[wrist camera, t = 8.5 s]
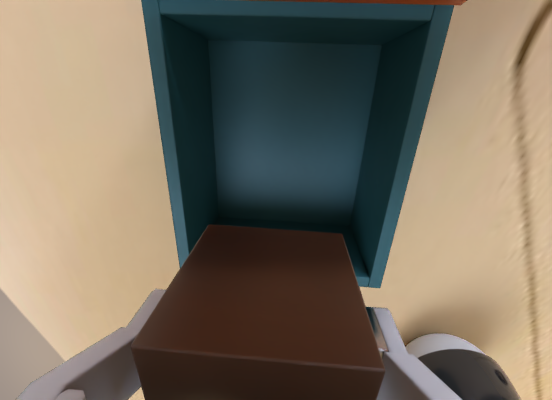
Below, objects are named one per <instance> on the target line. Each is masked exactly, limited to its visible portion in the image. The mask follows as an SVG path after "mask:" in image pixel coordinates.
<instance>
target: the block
mask: <svg viewBox="0 0 552 400" xmlns="http://www.w3.org/2000/svg"><path fill="white" fill-rule="evenodd" d="M131 351H132V355H133V358H134V362H135V366H136V369H137V373H138V376H139V380H140V383H141V387H142V390H143V394H144V398H145V400H376V399H377V396H378V393H379V390H380V387H381V384H382V381H383V378H384V375H385V371H386V370H385V367H384V364H383V361H382V357H381V354H380V351H379V348H378V345H377V342H376V339H375V335H374V332H373V329H372V326H371V323H370V320H369V316H368V313H367V310H366V307H365V304H364V301H363V298H362V294H361V291H360V288H359V285H358V282H357V279H356V275H355V272H354V269H353V266H352V263H351V260H350V257H349V253H348V250H347V247H346V244H345V241H344V238H343V235H342V234H341V233H326V232H312V231H298V230H284V229H269V228H255V227H241V226H227V225H212V224H209V225H208V226H207V228H206V229H205V231H204V232H203V234H202V235H201V237H200V239H199V240H198V242H197V243H196V245H195V246H194V248H193V249H192V251H191V253H190V254H189V256H188V257H187V259H186V260H185V262H184V263H183V265H182V267H181V268H180V270H179V271H178V273H177V274H176V276H175V277H174V279H173V281H172V282H171V284H170V285H169V287H168V288H167V290H166V291H165V293H164V294H163V296H162V298H161V299H160V301H159V302H158V304H157V305H156V307H155V308H154V310H153V312H152V313H151V315H150V316H149V318H148V319H147V321H146V322H145V324H144V326H143V327H142V329H141V330H140V332H139V333H138V335H137V336H136V338H135V340H134V341H133V343H132V344H131Z"/></svg>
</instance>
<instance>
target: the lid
mask: <svg viewBox="0 0 552 400" xmlns="http://www.w3.org/2000/svg"><path fill="white" fill-rule="evenodd" d="M247 1H291V2H336V3H380V4H425V5H462V4H463V3H464V2H466V1H467V0H247Z"/></svg>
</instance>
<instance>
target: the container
mask: <svg viewBox="0 0 552 400" xmlns="http://www.w3.org/2000/svg"><path fill="white" fill-rule="evenodd" d="M141 2H142V8H143V15H144V22H145V29H146V36H147V43H148V50H149V57H150V64H151V71H152V78H153V85H154V92H155V98H156V105H157V112H158V119H159V126H160V133H161V140H162V147H163V154H164V161H165V168H166V175H167V182H168V188H169V195H170V202H171V209H172V216H173V223H174V230H175V237H176V244H177V251H178V258H179V265H180V268H181V267H182V265H183V263H184V262H185V260H186V259H187V257H188V256H189V254H190V253H191V251H192V249H193V248H194V246H195V245H196V243H197V242H198V240H199V239H200V237H201V235H202V234H203V232H204V231H205V229H206V228H207V226H208V225H209V224H212V225H227V226H241V227H255V228H269V229H284V230H298V231H312V232H326V233H341V234H342V235H343V238H344V241H345V244H346V247H347V250H348V253H349V257H350V260H351V263H352V266H353V269H354V272H355V275H356V279H357V282H358V285H359V286H361V287H371V288H380V287H381V283H382V279H383V275H384V271H385V268H386V264H387V260H388V256H389V252H390V248H391V245H392V241H393V237H394V233H395V229H396V226H397V222H398V218H399V214H400V210H401V207H402V203H403V199H404V195H405V191H406V187H407V184H408V180H409V176H410V172H411V168H412V165H413V161H414V157H415V153H416V149H417V145H418V142H419V138H420V134H421V130H422V126H423V123H424V119H425V115H426V111H427V107H428V103H429V100H430V96H431V92H432V88H433V84H434V81H435V77H436V73H437V69H438V65H439V61H440V58H441V54H442V50H443V46H444V42H445V39H446V35H447V31H448V27H449V23H450V19H451V16H452V12H453V8H454V5H425V4H380V3H336V2H291V1H247V0H141Z"/></svg>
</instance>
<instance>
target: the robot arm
mask: <svg viewBox="0 0 552 400" xmlns="http://www.w3.org/2000/svg"><path fill="white" fill-rule="evenodd" d="M165 291H166V290H163V289H155V290H153V291H152V292H151V293H150V295H149V296H148V297H147V299H146V300H145V302H144V303H143V304H142V306H141V307H140V309H139V310H138V311H137V313H136V314H135V315H134V317H133V318H132V320H131V321H130V322H129V324H128V325H127V327H121V328H119V329H118V330H116V331H114V332H113V333H111V334H110V335H108V336H106V337H105V338H103V339H101V340H100V341H98V342H97V343H95V344H93V345H92V346H90V347H88V348H87V349H85V350H84V351H82V352H80V353H79V354H77V355H75V356H74V357H72V358H71V359H69V360H67V361H66V362H64V363H62V364H61V365H59V366H58V367H56V368H54V369H53V370H51V371H49V372H48V373H46V374H45V375H43V376H41V377H40V378H38V379H36V380H35V381H33V382H31V383H30V384H29V385H28V387H27V388H26V389H25V390H24V391H23V392H22V393H21V394H20V395H19V396H18V398H17V399H16V400H128V399H129V398H130V397H131V396H132V395H133V394H134V393H135V392H136V391H137V390H138V389H139V388H140V387H141V383H140V380H139V376H138V373H137V369H136V366H135V362H134V358H133V355H132V351H131V344H132V343H133V341H134V340H135V338H136V336H137V335H138V333H139V332H140V330H141V329H142V327H143V326H144V324H145V322H146V321H147V319H148V318H149V316H150V315H151V313H152V312H153V310H154V308H155V307H156V305H157V304H158V302H159V301H160V299H161V298H162V296H163V294H164V293H165ZM366 310H367V313H368V316H369V320H370V323H371V326H372V329H373V332H374V335H375V339H376V342H377V345H378V348H379V351H380V354H381V357H382V361H383V364H384V367H385V370H386V371H385V375H384V378H383V381H382V384H381V387H380V390H379V393H378V396H377V399H376V400H462V399H461V398H460V397H459V396H458V395H457V394H456V393H454V392H453V391H452V390H451V389H450V388H449V387H448V386H447V385H446V384H445V383H444V382H443V381H441V380H440V379H439V378H438V377H437V376H436V375H435V374H434V373H433V372H432V371H431V370H430V369H428V368H427V367H426V366H425V365H424V364H423V363H422V362H421V361H420V360H419V359H418V358H417V357H415V356H414V355H413V354H408V352H407V350H406V348H405V345H404V343H403V341H402V338H401V336H400V334H399V331H398V329H397V327H396V324H395V322H394V320H393V317H392V315H391V313H390V311H389V310H388V309H387V308H376V307H372V308H371V307H366Z"/></svg>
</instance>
